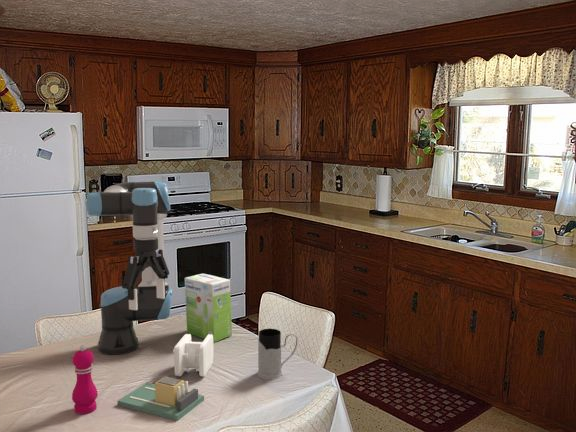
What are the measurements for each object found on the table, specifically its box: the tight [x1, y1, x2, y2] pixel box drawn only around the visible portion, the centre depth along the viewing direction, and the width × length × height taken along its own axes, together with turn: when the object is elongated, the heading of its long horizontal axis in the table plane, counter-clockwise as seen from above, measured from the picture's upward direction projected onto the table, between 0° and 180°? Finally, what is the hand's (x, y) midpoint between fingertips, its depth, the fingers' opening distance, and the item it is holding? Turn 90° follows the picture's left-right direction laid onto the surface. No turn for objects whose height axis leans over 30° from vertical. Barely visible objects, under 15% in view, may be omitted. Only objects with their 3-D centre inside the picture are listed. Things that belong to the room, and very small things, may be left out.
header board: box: [117, 380, 205, 422], centre depth 170 cm, size 22×14×8 cm, turn 66°
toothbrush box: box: [184, 273, 233, 343], centre depth 228 cm, size 18×10×24 cm, turn 49°
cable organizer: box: [172, 333, 214, 378], centre depth 193 cm, size 15×11×12 cm
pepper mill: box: [71, 345, 98, 415], centre depth 165 cm, size 7×7×20 cm
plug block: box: [154, 375, 185, 406], centre depth 168 cm, size 7×5×6 cm
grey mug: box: [256, 328, 298, 380], centre depth 192 cm, size 9×14×15 cm, turn 104°
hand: (147, 303), depth 176 cm, fingers open, 13 cm apart
